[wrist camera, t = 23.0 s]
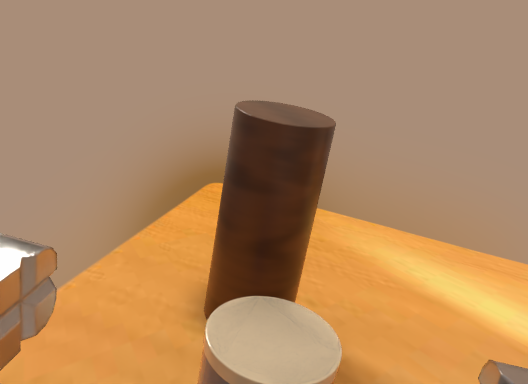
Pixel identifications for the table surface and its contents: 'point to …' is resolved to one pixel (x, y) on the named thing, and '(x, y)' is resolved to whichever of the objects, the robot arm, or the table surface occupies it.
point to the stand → (267, 201)
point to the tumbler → (268, 344)
